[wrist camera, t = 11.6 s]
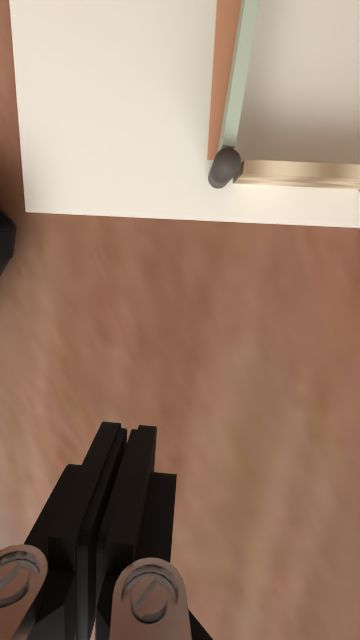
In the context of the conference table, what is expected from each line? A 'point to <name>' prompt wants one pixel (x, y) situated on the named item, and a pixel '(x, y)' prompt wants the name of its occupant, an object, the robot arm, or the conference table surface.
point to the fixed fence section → (281, 172)
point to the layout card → (183, 106)
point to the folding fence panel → (238, 73)
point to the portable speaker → (6, 240)
